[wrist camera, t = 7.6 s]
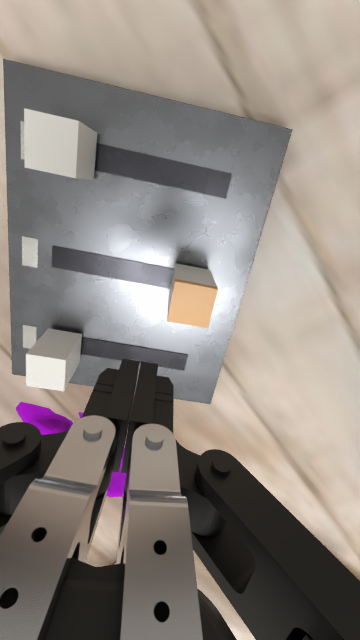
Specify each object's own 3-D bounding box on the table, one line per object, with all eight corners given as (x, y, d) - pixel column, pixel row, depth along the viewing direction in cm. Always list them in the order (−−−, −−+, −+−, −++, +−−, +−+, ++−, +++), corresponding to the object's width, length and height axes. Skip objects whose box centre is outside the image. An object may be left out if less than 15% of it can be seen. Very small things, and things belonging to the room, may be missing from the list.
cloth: (169, 476, 40) (168, 524, 34) (58, 524, 43) (40, 574, 38) (59, 348, 32) (34, 384, 26) (-67, 420, 35) (-112, 464, 30)
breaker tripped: (210, 270, 25) (218, 289, 21) (202, 303, 27) (208, 328, 22) (175, 263, 25) (175, 281, 20) (168, 296, 26) (166, 321, 22)
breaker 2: (81, 333, 28) (65, 360, 24) (79, 361, 29) (64, 391, 25) (48, 328, 27) (25, 353, 23) (47, 356, 29) (26, 385, 24)
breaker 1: (97, 132, 21) (78, 120, 17) (93, 179, 22) (75, 178, 18) (53, 122, 21) (24, 108, 17) (52, 170, 22) (24, 167, 18)
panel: (283, 133, 24) (292, 129, 22) (208, 392, 34) (210, 404, 32) (17, 69, 22) (2, 58, 20) (21, 363, 32) (11, 374, 30)
